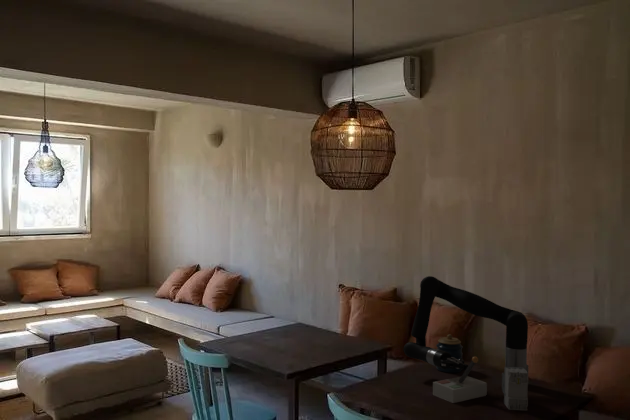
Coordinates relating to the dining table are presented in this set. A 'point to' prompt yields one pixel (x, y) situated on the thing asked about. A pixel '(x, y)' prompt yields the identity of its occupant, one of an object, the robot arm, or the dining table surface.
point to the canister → (450, 350)
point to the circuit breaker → (515, 388)
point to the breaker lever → (468, 369)
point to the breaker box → (459, 389)
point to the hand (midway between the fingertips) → (467, 367)
